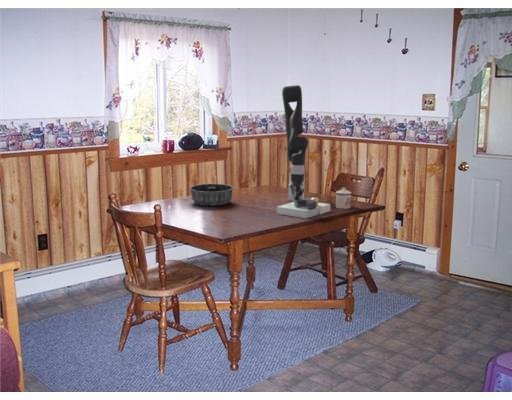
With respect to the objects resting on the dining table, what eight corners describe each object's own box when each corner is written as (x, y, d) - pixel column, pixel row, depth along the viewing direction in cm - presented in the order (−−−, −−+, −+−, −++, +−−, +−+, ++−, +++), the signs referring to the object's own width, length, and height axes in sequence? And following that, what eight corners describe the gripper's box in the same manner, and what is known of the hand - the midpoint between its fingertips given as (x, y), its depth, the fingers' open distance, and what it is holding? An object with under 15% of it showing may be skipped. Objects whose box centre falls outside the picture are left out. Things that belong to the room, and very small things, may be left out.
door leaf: (276, 213, 345) (276, 206, 344) (289, 209, 355) (289, 203, 355) (306, 218, 334) (306, 211, 333) (318, 214, 345) (318, 207, 344)
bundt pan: (214, 210, 354) (213, 192, 352) (180, 204, 369) (180, 187, 367) (242, 203, 374) (242, 186, 372) (209, 197, 390) (209, 182, 388)
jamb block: (290, 209, 356) (290, 202, 355) (300, 206, 365) (300, 199, 364) (320, 214, 345) (320, 207, 344) (330, 210, 354) (330, 204, 353)
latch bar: (316, 203, 351) (316, 197, 350) (319, 205, 347) (319, 198, 347) (293, 205, 345) (293, 199, 344) (297, 207, 341) (297, 200, 341)
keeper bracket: (307, 209, 338) (307, 202, 337) (312, 207, 342) (313, 200, 342) (310, 210, 336) (310, 202, 336) (316, 208, 341) (316, 201, 340)
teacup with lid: (347, 209, 358) (348, 189, 355) (333, 207, 362) (333, 188, 360) (354, 206, 368) (355, 186, 366) (340, 204, 372) (341, 185, 370)
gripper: (286, 171, 348) (285, 201, 351) (297, 174, 336) (296, 206, 340) (297, 170, 351) (296, 200, 355) (309, 174, 339) (308, 204, 343)
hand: (296, 203), depth 347 cm, fingers closed
